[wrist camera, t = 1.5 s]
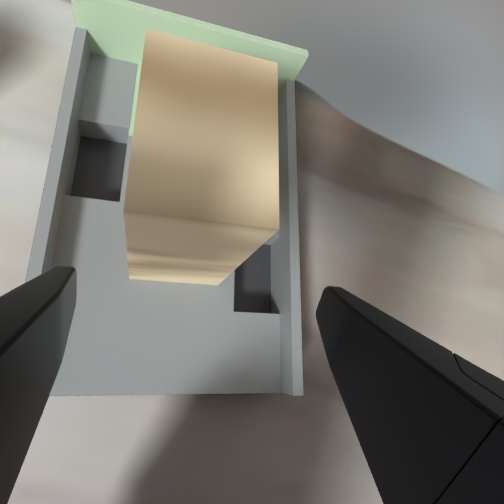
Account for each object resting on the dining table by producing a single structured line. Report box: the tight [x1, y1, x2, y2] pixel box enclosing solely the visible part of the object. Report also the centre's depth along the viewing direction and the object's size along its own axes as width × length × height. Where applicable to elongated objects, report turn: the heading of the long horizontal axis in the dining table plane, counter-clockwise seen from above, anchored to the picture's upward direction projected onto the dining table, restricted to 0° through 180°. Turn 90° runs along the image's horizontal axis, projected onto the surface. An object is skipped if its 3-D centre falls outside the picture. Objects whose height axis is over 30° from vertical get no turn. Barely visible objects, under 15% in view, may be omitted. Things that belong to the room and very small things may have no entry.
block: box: [123, 29, 279, 285], centre depth 17 cm, size 7×5×10 cm
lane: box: [25, 0, 308, 396], centre depth 21 cm, size 21×14×6 cm, turn 179°
